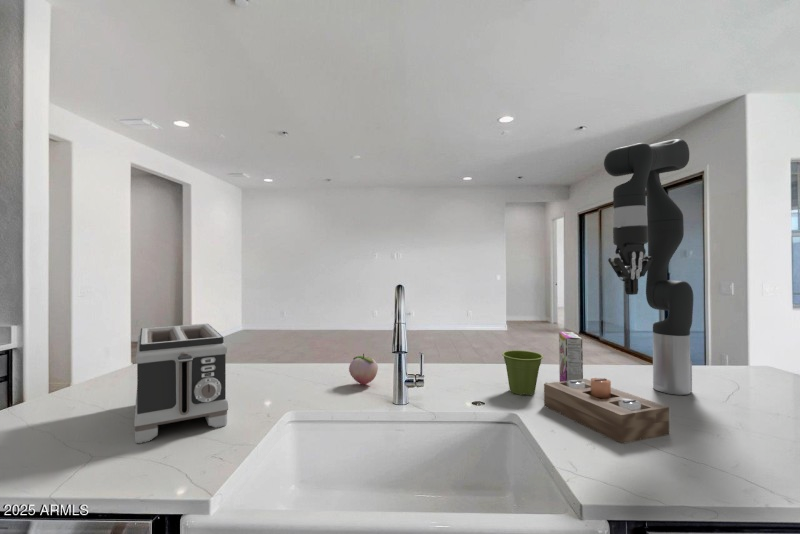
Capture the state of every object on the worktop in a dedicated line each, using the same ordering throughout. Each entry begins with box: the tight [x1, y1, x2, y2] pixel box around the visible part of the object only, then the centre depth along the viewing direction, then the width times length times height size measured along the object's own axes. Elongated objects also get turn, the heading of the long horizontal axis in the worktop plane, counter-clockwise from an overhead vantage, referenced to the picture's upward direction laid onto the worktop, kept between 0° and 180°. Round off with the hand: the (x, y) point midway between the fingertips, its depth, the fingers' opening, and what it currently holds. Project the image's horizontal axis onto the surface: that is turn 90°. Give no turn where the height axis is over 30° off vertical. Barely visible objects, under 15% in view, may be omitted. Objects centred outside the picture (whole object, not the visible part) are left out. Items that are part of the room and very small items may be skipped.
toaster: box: [133, 323, 229, 444], centre depth 97 cm, size 18×34×21 cm, turn 33°
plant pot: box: [501, 349, 544, 396], centre depth 117 cm, size 12×12×11 cm
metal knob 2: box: [618, 399, 641, 411], centre depth 88 cm, size 4×4×4 cm
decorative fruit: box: [348, 353, 379, 386], centre depth 124 cm, size 9×8×10 cm
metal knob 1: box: [567, 380, 585, 390], centre depth 103 cm, size 4×4×4 cm
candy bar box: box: [558, 331, 584, 382], centre depth 121 cm, size 11×5×16 cm, turn 168°
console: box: [543, 378, 670, 444], centre depth 96 cm, size 14×24×6 cm, turn 19°
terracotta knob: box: [590, 377, 612, 398], centre depth 96 cm, size 4×4×4 cm
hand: (631, 294), depth 98 cm, fingers closed
